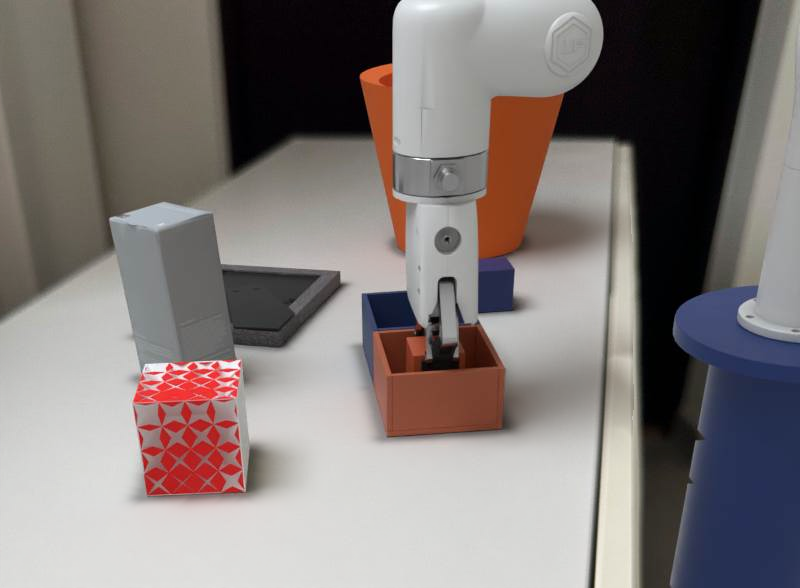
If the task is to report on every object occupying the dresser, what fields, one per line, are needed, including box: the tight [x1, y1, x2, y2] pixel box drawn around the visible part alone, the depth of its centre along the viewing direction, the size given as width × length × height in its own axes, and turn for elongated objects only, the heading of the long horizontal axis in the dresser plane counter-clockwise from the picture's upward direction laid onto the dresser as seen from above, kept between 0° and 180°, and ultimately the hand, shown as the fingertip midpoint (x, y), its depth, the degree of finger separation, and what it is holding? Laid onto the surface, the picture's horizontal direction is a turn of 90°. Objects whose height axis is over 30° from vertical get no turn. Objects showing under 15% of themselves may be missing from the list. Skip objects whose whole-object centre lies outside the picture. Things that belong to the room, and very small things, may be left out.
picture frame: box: [221, 263, 342, 348], centre depth 119 cm, size 16×2×21 cm
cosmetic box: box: [108, 201, 237, 375], centre depth 99 cm, size 8×7×16 cm
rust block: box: [406, 335, 465, 373], centre depth 93 cm, size 4×4×4 cm
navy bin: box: [361, 289, 482, 388], centre depth 103 cm, size 10×11×6 cm
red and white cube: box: [132, 359, 251, 497], centre depth 85 cm, size 8×8×8 cm
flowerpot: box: [359, 62, 565, 259], centre depth 131 cm, size 25×25×20 cm
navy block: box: [478, 256, 516, 314], centre depth 116 cm, size 4×4×4 cm
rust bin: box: [373, 323, 506, 438], centre depth 94 cm, size 10×11×6 cm
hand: (434, 389), depth 94 cm, fingers closed on rust block, 4 cm apart
